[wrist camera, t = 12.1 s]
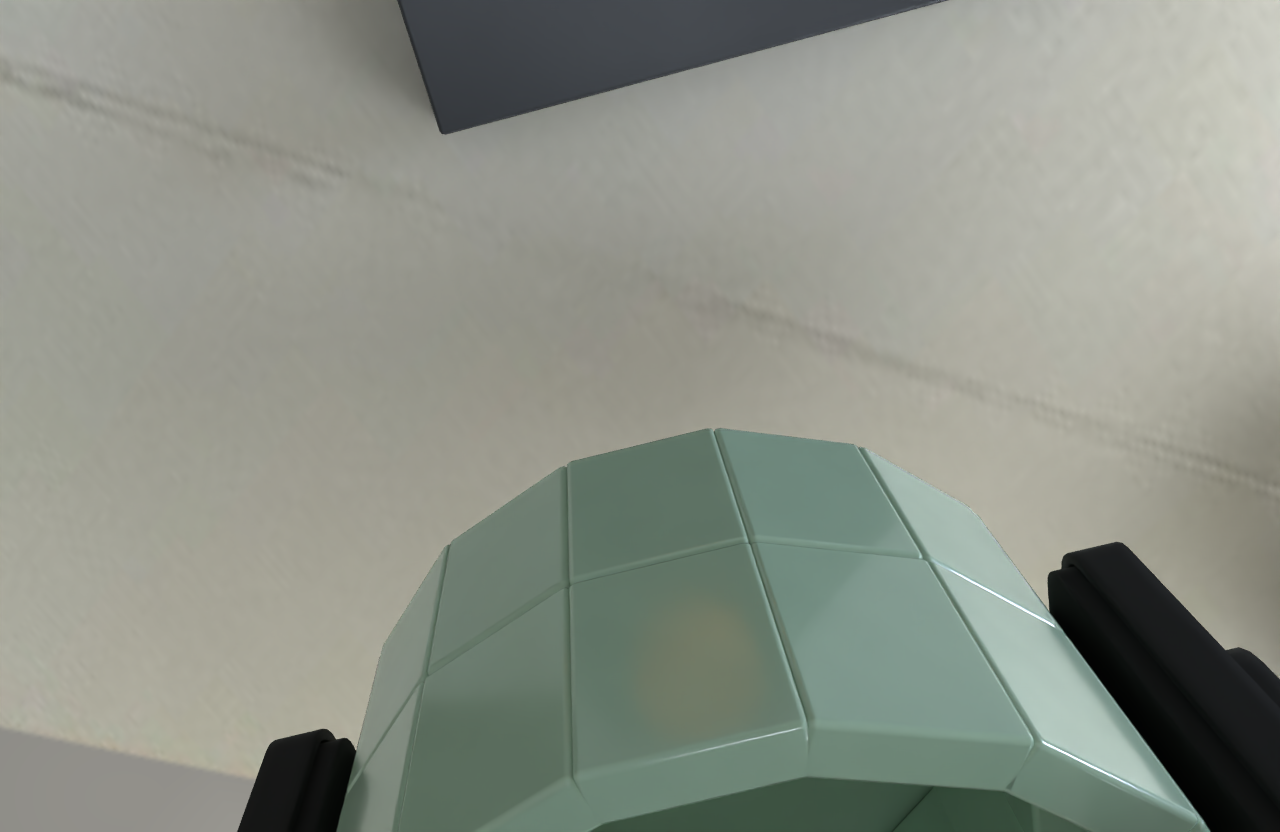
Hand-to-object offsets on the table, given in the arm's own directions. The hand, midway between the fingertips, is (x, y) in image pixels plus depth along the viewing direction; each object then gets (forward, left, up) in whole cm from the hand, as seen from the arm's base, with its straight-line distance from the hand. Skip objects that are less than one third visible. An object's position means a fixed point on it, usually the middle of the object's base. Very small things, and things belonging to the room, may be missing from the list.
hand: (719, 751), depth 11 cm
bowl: (0, 0, -1) cm, 1 cm away
